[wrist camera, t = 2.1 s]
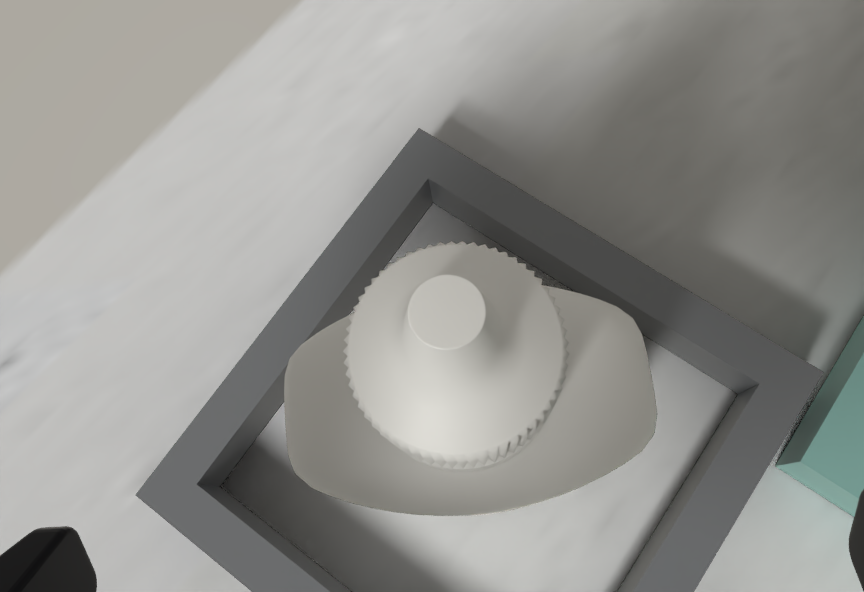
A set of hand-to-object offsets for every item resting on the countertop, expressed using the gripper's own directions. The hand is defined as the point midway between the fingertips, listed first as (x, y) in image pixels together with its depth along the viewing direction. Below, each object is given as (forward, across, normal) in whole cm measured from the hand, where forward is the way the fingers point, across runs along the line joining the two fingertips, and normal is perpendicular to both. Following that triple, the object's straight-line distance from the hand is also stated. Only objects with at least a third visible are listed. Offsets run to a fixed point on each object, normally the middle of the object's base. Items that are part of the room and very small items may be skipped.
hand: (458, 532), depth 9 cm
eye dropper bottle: (+8, 0, +6) cm, 10 cm away
